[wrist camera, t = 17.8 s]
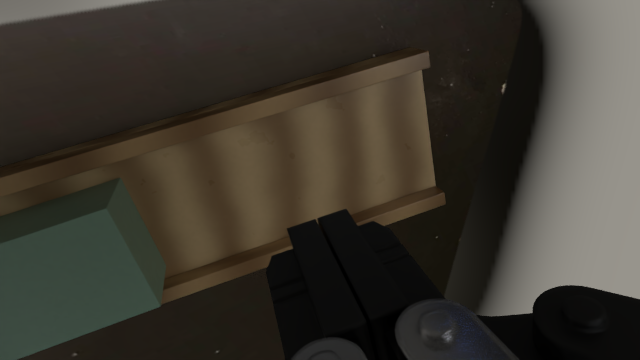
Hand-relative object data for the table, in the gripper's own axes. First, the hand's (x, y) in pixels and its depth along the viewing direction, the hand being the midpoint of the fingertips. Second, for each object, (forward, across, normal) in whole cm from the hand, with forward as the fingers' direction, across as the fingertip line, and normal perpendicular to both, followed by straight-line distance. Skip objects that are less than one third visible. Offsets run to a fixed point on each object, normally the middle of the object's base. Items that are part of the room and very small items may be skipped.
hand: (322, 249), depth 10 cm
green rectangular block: (+21, +16, +8) cm, 27 cm away
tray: (+23, +5, +8) cm, 24 cm away
